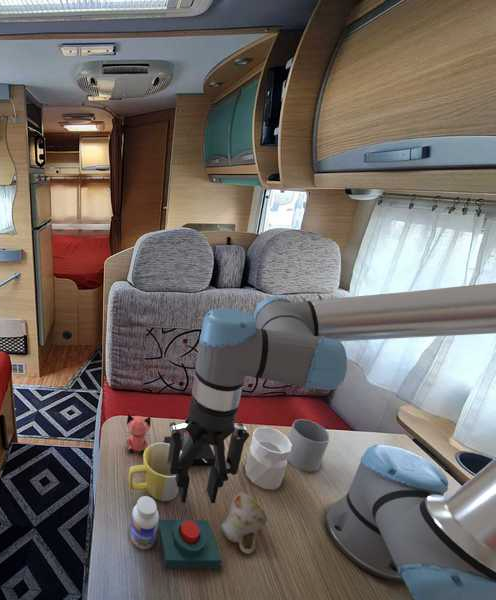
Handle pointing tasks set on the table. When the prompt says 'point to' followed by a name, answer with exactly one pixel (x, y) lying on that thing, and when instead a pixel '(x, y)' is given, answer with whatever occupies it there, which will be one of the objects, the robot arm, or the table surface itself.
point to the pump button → (189, 532)
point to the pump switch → (188, 545)
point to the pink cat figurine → (137, 433)
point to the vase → (267, 457)
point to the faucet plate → (199, 454)
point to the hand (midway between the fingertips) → (196, 496)
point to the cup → (307, 445)
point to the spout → (185, 439)
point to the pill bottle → (144, 522)
